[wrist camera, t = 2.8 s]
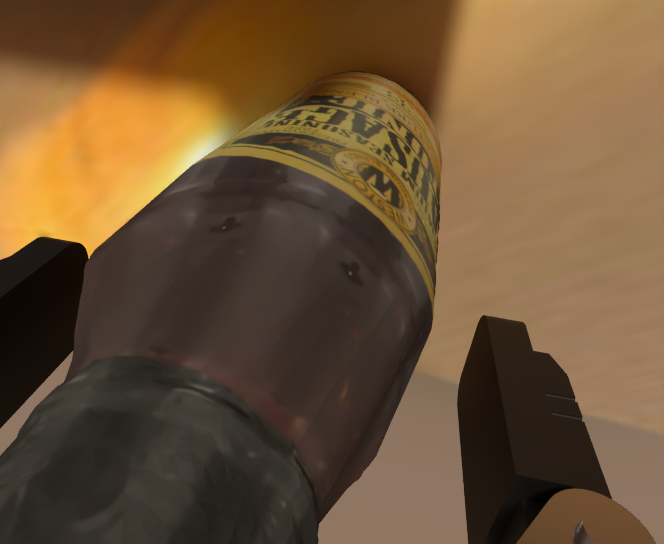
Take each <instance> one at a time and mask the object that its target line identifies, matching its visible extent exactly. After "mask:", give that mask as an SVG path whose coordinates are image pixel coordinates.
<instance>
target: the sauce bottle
mask: <svg viewBox="0 0 664 544" xmlns="http://www.w3.org/2000/svg"><path fill="white" fill-rule="evenodd" d="M441 168H442V158H441V150H440V143H439V139H438V136H437V133H436V130H435V128H434V125H433V123H432V121H431V119H430V117H429V116H428V114H427V112H426V109H425V108H423V107H422V106H421V105H420V103H419V102H418V100H417V98H416V97H415V96H414V95H413V94H412V92H410V91H409V90H407V89H405V88H404V87H403V86H401V85H398V84H397V83H394V82H392V81H390V80H388V79H386V78H384V77H381V76H378V75H374V74H370V73H365V72H360V71H351V72H344V73H338V74H333V75H329V76H326V77H322V78H320V79H318V80H316V81H314V82H312V83H310V84H309V85H307V86H306V87H305V88H303V89H302V90H300V91H299V92H297V93H296V94H295V95H293V96H292V97H291V98H289V99H288V100H286V101H285V102H283V103H282V104H281V105H279V106H278V107H276V108H275V109H273V110H271V111H270V112H268V113H267V114H265V115H264V116H262V117H261V118H259V119H258V120H256V121H255V122H253V123H252V124H251V125H249V126H248V127H247V128H245V129H244V130H242V131H241V132H240V133H238V134H237V135H236V136H234V137H233V138H232V139H230V140H229V141H227V142H226V143H225V144H223V145H222V146H220V147H219V148H217V149H216V150H214V151H213V152H211V153H210V154H208V155H207V156H205V157H204V158H202V159H201V160H199V161H198V162H196V163H195V164H193V165H192V166H191V167H190V168H189V169H187V170H186V171H185V172H184V173H183V174H182V175H181V176H179V177H178V178H177V179H176V180H175V181H174V182H173V183H171V184H170V185H169V186H168V187H167V188H166V189H165V190H163V191H162V192H161V193H160V194H159V195H158V196H157V197H155V198H154V199H153V200H152V201H151V202H150V203H149V204H147V205H146V206H145V207H144V208H143V209H142V210H141V211H139V212H138V213H137V214H136V215H135V216H134V217H133V218H131V219H130V220H129V221H128V222H127V223H126V224H125V225H123V226H122V227H121V228H120V229H119V230H118V231H116V232H115V233H114V234H113V235H112V236H111V237H109V238H108V239H107V240H106V241H105V242H103V243H102V244H101V245H100V246H99V247H98V248H96V249H95V251H94V252H93V254H92V255H91V256H90V258H89V260H88V261H87V263H86V265H85V269H84V281H83V286H82V293H81V297H80V303H79V310H78V315H77V321H76V327H75V336H74V349H73V358H72V362H71V365H70V368H69V370H68V373H67V376H66V379H65V381H64V383H62V384H61V385H59V386H57V387H56V388H55V389H54V390H53V391H52V392H51V393H50V394H49V395H48V396H47V397H46V398H45V399H44V400H42V401H41V402H40V403H39V404H38V405H37V406H36V407H35V409H34V410H33V411H32V413H31V414H30V416H29V417H28V419H27V420H26V422H25V423H24V425H23V426H22V428H21V429H20V431H19V433H18V436H17V438H16V439H15V440H14V441H13V443H12V444H11V445H10V446H9V447H8V448H7V449H6V450H5V451H4V452H3V454H2V455H1V456H0V544H318V536H317V534H318V527H319V523H320V522H321V521H322V519H323V518H324V517H325V516H326V514H327V513H328V512H329V510H330V509H331V508H332V507H333V506H334V504H335V503H336V502H337V500H338V499H339V498H340V497H341V496H342V494H343V493H344V492H345V491H346V489H347V488H349V486H351V485H352V484H353V483H354V482H355V481H356V480H358V479H359V478H360V477H361V475H362V473H363V471H364V470H365V469H366V468H367V467H368V466H369V464H370V463H371V462H372V461H373V459H374V458H375V457H376V455H377V453H378V450H379V448H380V446H381V444H382V441H383V439H384V437H385V434H386V432H387V430H388V428H389V425H390V423H391V421H392V418H393V416H394V414H395V412H396V409H397V407H398V405H399V403H400V400H401V398H402V396H403V394H404V391H405V389H406V387H407V384H408V382H409V380H410V378H411V375H412V373H413V371H414V369H415V366H416V364H417V362H418V359H419V357H420V355H421V352H422V350H423V348H424V345H425V343H426V341H427V339H428V336H429V334H430V332H431V328H432V321H433V310H434V296H435V286H436V263H437V251H438V236H437V234H438V231H439V221H440V214H439V211H440V204H439V202H440V183H441Z"/></svg>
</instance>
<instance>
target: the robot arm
mask: <svg viewBox="0 0 664 544" xmlns="http://www.w3.org/2000/svg"><path fill="white" fill-rule="evenodd" d="M88 260H89V259H88V254H87V251H86V249H85V247H84V246H83V245H82V244H80V243H77V242H71V241H66V240H60V239H54V238H49V237H39V238H37V239H35V240H34V241H32V242H31V243H29V244H28V245H26V246H25V247H23V248H22V249H20V250H19V251H18V252H16V253H15V254H13V255H12V256H10V257H7V258H5V259H2V260H0V428H1V427H2V426H3V425H4V424H5V423H6V422H7V421H8V420H9V419H10V418H11V417H12V415H13V414H14V413H15V412H16V411H17V410H18V409H19V408H20V407H21V406H22V405H23V404H24V403H25V401H26V400H27V399H28V398H29V397H30V396H31V395H32V394H33V393H34V392H35V391H36V390H37V389H38V388H39V386H40V385H41V384H42V383H43V382H44V381H45V380H46V379H47V378H48V377H49V376H50V375H51V374H52V372H53V371H54V370H55V369H56V368H57V367H58V366H59V365H60V364H61V363H62V362H63V361H64V360H65V359H66V358H67V356H68V355H69V354H70V353H71V352H72V351H73V349H74V336H75V327H76V321H77V315H78V310H79V303H80V297H81V293H82V286H83V281H84V269H85V265H86V263H87V261H88ZM457 406H458V420H459V432H460V443H461V458H462V470H463V482H464V495H465V508H466V520H467V533H468V544H656V542H655V541H654V539H653V537H652V536H651V534H650V533H649V531H648V530H647V529H646V527H645V526H644V525H643V524H642V523H641V522H640V521H639V520H638V519H637V518H636V517H635V516H634V515H633V514H632V513H631V512H629V511H628V510H627V509H626V508H624V507H623V506H622V505H620V504H618V503H617V502H615V501H614V500H612V497H611V495H610V492H609V489H608V486H607V484H606V481H605V478H604V475H603V473H602V470H601V467H600V464H599V462H598V459H597V456H596V453H595V450H594V448H593V445H592V442H591V439H590V436H589V434H588V431H587V428H586V426H585V423H584V422H582V414H581V412H580V409H579V406H578V403H577V402H575V395H574V392H573V389H572V387H571V384H570V381H569V378H568V376H567V374H566V373H565V372H564V371H563V369H562V368H561V367H560V366H559V365H558V364H557V363H556V361H555V360H554V359H553V358H552V357H551V356H550V354H548V353H542V352H536V351H533V349H532V345H531V342H530V339H529V335H528V332H527V328H526V326H525V324H524V323H523V322H519V321H514V320H508V319H502V318H497V317H491V316H485V315H483V316H482V317H481V318H480V320H479V323H478V325H477V328H476V331H475V334H474V337H473V341H472V344H471V347H470V350H469V353H468V356H467V359H466V362H465V365H464V368H463V371H462V374H461V378H460V383H459V389H458V400H457Z"/></svg>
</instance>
